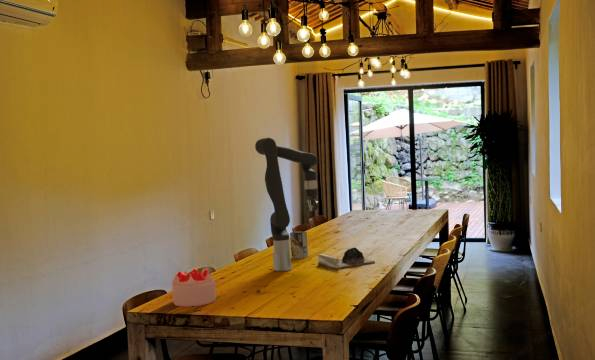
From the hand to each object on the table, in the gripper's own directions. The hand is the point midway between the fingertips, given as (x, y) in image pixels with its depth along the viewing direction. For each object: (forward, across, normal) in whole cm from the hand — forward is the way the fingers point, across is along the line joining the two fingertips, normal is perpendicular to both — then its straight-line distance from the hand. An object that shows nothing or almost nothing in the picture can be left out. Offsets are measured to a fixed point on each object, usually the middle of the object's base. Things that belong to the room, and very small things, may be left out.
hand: (313, 217), depth 359 cm
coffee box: (+27, -23, +1) cm, 36 cm away
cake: (+27, +43, -88) cm, 102 cm away
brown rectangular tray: (+27, +18, +10) cm, 34 cm away
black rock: (+27, +20, +14) cm, 36 cm away
